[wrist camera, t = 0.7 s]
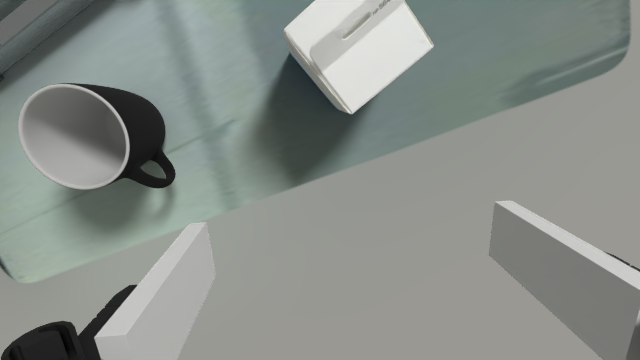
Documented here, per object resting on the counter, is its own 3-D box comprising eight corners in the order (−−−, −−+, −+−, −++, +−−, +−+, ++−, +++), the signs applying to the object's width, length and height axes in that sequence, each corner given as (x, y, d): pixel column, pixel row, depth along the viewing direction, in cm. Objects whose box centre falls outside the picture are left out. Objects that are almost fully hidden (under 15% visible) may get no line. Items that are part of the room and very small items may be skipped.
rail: (-28, 69, 34) (-76, 66, 29) (147, -72, 31) (122, -97, 27) (-9, 88, 34) (-54, 88, 30) (164, -48, 31) (141, -69, 27)
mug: (79, 125, 36) (-6, 139, 26) (128, 67, 34) (57, 57, 24) (165, 196, 38) (117, 232, 29) (213, 144, 37) (180, 164, 27)
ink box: (336, 111, 36) (352, 122, 24) (287, 51, 34) (277, 28, 22) (395, 59, 35) (447, 42, 22) (348, -5, 33) (375, -66, 20)
